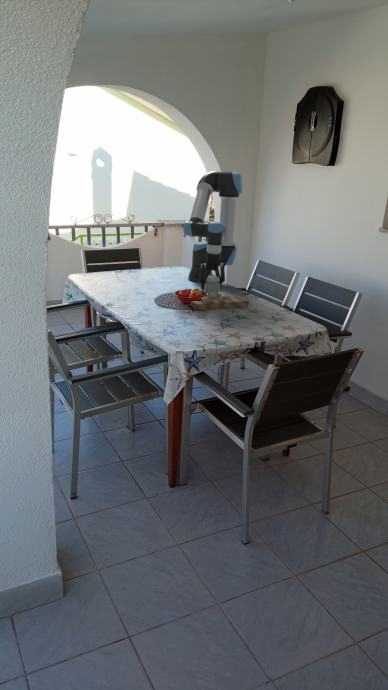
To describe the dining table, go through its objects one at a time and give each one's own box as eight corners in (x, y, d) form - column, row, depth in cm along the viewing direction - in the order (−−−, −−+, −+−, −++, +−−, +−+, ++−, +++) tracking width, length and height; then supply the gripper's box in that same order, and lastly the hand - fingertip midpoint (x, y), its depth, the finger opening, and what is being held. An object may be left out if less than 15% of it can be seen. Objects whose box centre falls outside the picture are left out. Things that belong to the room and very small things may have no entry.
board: (238, 301, 274) (239, 295, 273) (248, 306, 266) (248, 300, 265) (187, 304, 261) (188, 299, 260) (196, 310, 253) (196, 304, 252)
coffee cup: (221, 298, 275) (222, 276, 271) (213, 301, 268) (215, 278, 264) (207, 295, 279) (208, 273, 275) (199, 298, 272) (200, 276, 268)
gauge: (217, 299, 264) (217, 291, 263) (223, 301, 260) (224, 294, 259) (198, 301, 257) (198, 293, 256) (204, 304, 253) (205, 296, 252)
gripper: (227, 250, 273) (223, 292, 280) (192, 251, 264) (190, 294, 272) (234, 253, 266) (230, 295, 274) (199, 254, 257) (196, 298, 265)
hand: (210, 295), depth 273 cm, fingers closed on coffee cup, 8 cm apart
